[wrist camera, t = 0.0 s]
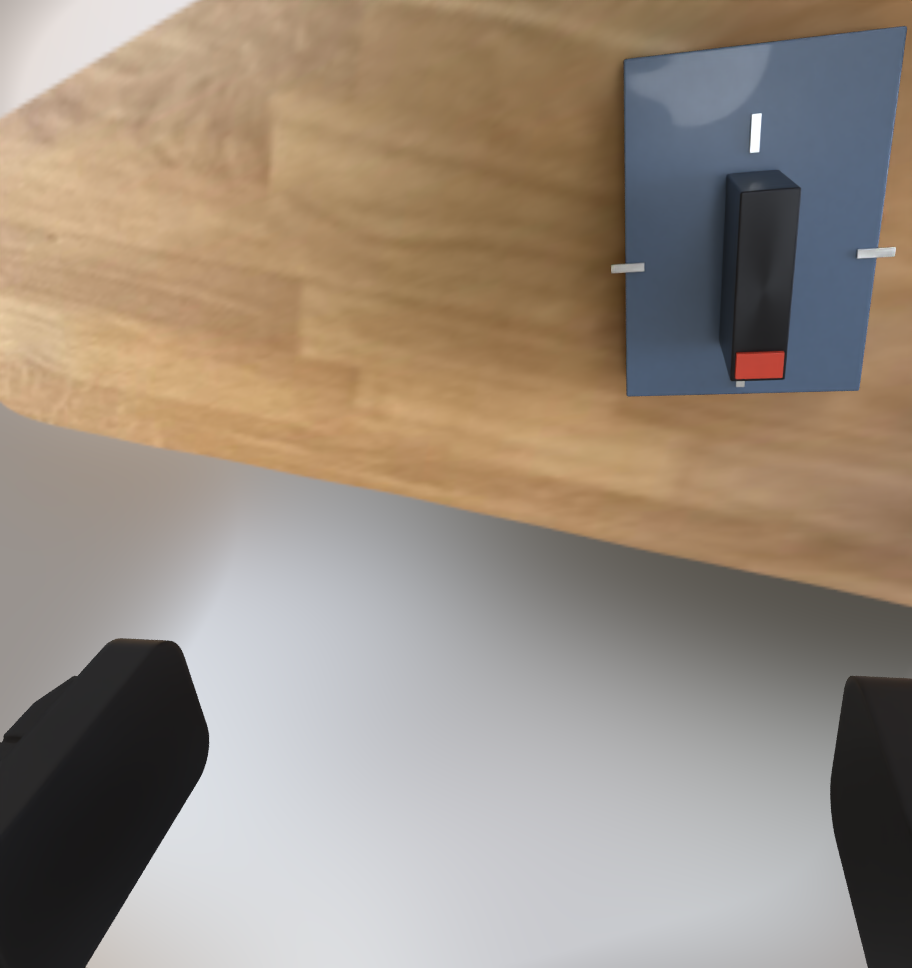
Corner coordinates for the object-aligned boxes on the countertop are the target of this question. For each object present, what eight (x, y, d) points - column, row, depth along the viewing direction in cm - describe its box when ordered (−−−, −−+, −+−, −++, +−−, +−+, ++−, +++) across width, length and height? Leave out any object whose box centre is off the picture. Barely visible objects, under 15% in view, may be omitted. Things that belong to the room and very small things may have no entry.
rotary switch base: (610, 60, 34) (607, 61, 31) (902, 26, 31) (928, 23, 28) (615, 375, 40) (613, 398, 37) (857, 367, 37) (875, 392, 35)
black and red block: (726, 173, 32) (741, 193, 27) (779, 169, 31) (803, 188, 27) (718, 342, 35) (730, 384, 31) (766, 340, 35) (786, 383, 30)
